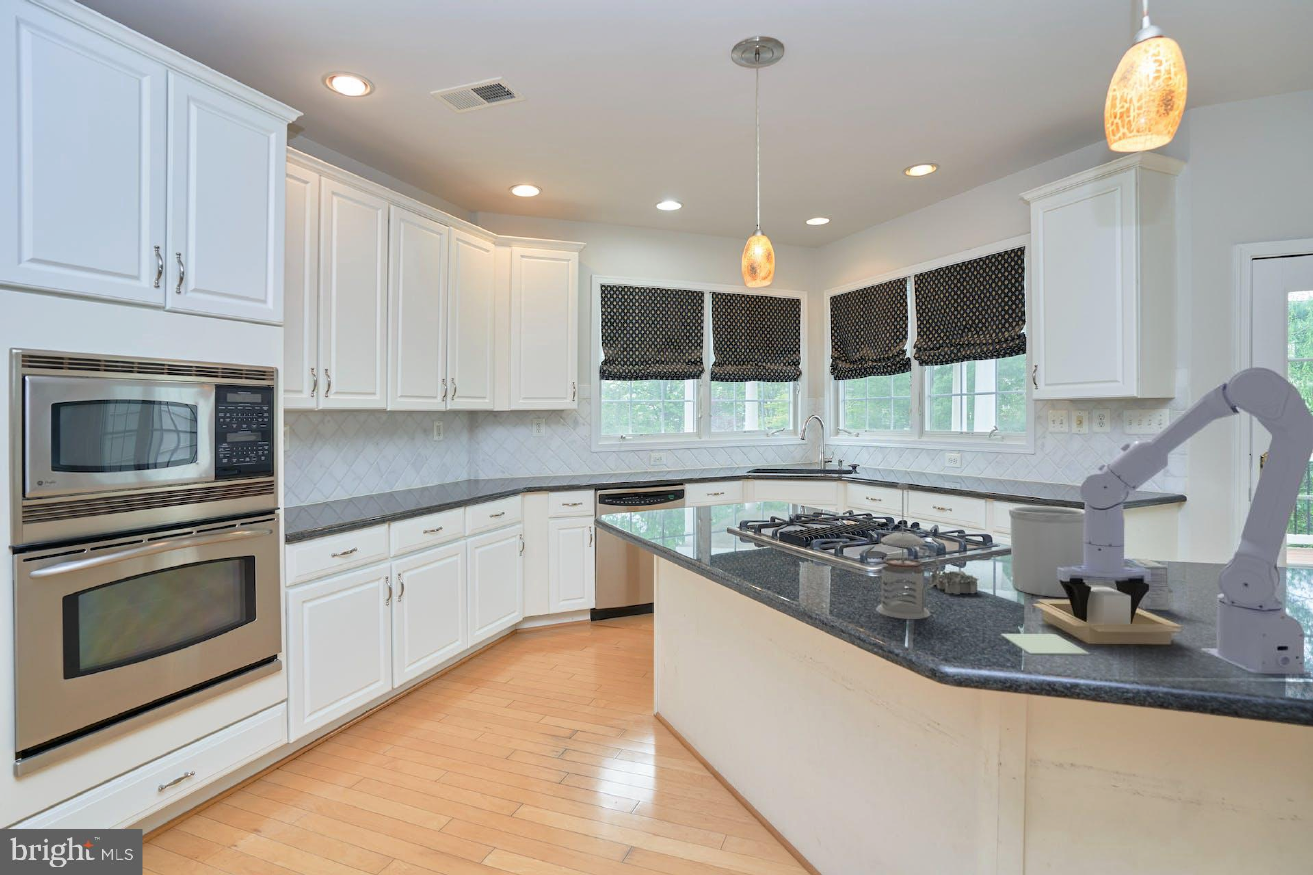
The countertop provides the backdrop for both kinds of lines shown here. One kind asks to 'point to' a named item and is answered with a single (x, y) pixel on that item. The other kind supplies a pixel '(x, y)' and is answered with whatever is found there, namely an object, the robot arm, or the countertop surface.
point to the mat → (1044, 644)
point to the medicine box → (1152, 583)
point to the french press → (904, 577)
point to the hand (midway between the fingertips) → (1103, 622)
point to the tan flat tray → (1109, 626)
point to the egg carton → (954, 582)
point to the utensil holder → (1045, 547)
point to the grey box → (1108, 606)
